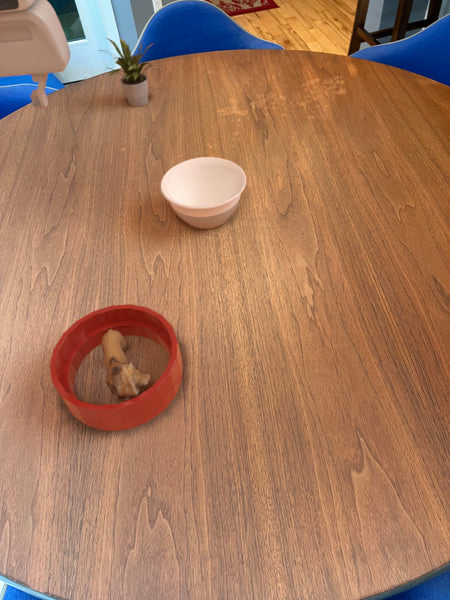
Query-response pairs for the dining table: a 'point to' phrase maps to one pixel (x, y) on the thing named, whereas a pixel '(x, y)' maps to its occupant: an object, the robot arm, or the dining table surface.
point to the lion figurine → (121, 368)
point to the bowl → (204, 190)
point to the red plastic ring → (90, 335)
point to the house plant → (132, 75)
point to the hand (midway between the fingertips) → (6, 108)
